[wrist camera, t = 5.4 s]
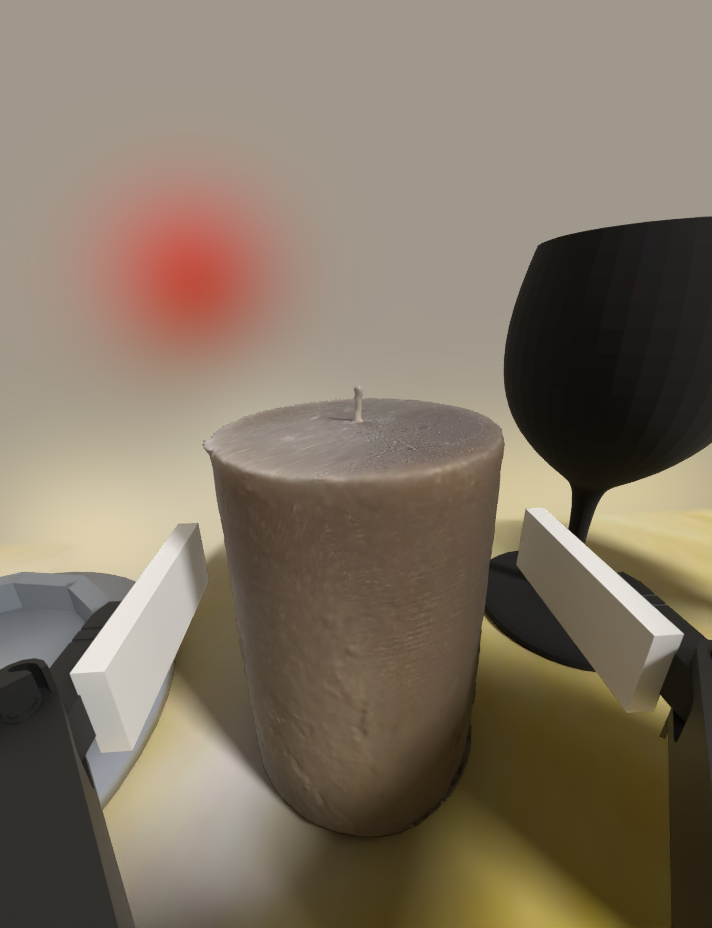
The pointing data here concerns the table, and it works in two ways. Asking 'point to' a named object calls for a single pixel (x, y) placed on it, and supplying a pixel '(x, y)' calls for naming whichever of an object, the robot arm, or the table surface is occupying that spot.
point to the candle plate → (50, 631)
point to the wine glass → (605, 381)
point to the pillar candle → (360, 597)
